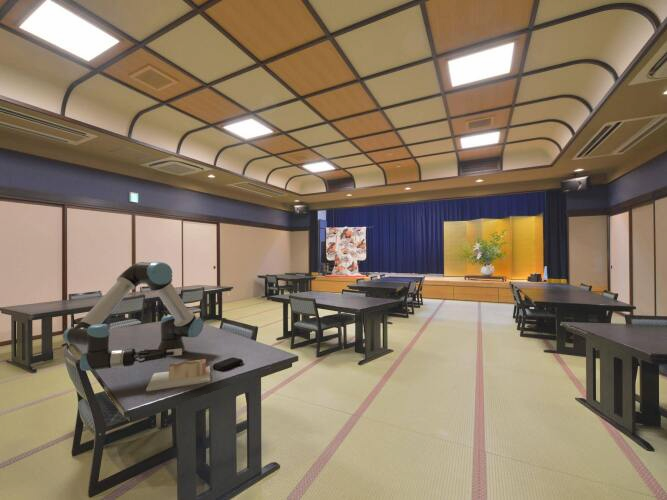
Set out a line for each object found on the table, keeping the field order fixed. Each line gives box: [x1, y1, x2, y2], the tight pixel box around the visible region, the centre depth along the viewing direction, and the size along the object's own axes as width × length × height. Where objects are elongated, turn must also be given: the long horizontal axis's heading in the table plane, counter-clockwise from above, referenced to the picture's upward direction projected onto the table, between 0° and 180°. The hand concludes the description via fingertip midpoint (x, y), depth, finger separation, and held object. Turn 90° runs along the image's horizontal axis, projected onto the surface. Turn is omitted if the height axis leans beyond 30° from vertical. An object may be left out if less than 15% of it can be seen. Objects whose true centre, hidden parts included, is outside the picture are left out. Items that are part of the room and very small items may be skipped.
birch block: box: [168, 358, 207, 380], centre depth 148 cm, size 6×6×16 cm
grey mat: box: [145, 365, 211, 392], centre depth 147 cm, size 26×20×1 cm
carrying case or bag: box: [212, 356, 244, 372], centre depth 163 cm, size 11×3×15 cm
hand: (181, 351), depth 147 cm, fingers closed
